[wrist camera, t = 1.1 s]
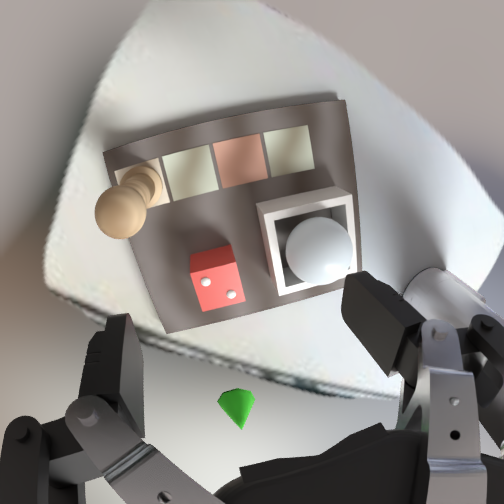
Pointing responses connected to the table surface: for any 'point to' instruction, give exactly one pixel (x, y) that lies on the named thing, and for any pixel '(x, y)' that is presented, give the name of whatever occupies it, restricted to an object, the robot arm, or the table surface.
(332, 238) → the white ball
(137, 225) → the pawn
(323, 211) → the board
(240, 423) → the gemstone
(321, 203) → the housing
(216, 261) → the die
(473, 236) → the table surface
